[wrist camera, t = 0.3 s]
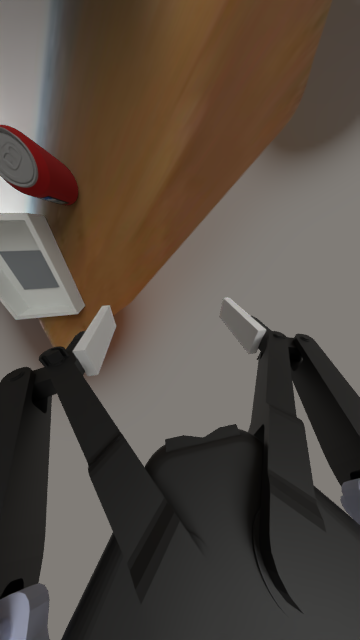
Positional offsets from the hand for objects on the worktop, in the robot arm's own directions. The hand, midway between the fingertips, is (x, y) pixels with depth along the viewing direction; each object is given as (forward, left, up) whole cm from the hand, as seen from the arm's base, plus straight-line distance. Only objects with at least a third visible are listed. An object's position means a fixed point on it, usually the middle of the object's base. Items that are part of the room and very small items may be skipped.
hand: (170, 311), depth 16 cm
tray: (0, -31, -28) cm, 42 cm away
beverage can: (-16, -18, -28) cm, 37 cm away
